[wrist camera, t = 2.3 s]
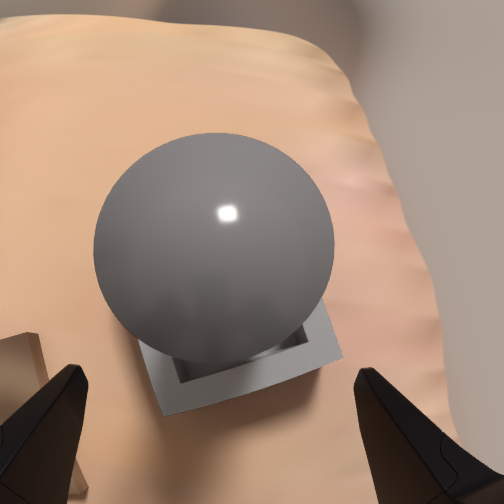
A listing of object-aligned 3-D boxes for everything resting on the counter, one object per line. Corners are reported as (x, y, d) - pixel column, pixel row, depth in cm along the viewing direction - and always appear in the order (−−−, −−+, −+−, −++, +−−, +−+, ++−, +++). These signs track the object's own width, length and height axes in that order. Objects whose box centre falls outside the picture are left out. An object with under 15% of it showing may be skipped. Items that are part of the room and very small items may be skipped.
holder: (323, 356, 20) (343, 357, 16) (176, 404, 18) (163, 417, 15) (272, 218, 22) (280, 192, 19) (134, 260, 21) (115, 241, 17)
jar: (283, 336, 19) (369, 311, 7) (195, 364, 18) (126, 392, 6) (253, 252, 21) (282, 114, 8) (169, 278, 20) (82, 170, 7)
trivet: (88, 487, 16) (80, 494, 14) (-11, 484, 14) (-21, 488, 13) (38, 333, 19) (27, 332, 18) (-49, 357, 17) (-60, 356, 16)
